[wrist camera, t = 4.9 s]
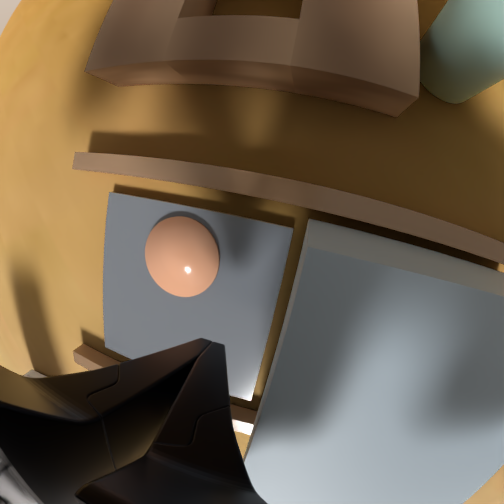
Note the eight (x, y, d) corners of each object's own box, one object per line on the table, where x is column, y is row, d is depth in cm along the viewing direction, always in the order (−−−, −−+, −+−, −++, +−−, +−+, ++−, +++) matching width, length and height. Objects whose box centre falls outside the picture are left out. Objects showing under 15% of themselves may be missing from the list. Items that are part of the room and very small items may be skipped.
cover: (505, 273, 8) (589, 321, 3) (424, 436, 10) (447, 516, 5) (308, 218, 10) (307, 247, 4) (256, 414, 12) (225, 510, 6)
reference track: (512, 247, 8) (525, 252, 7) (419, 442, 11) (423, 454, 10) (88, 153, 11) (75, 151, 10) (84, 354, 14) (74, 361, 13)
